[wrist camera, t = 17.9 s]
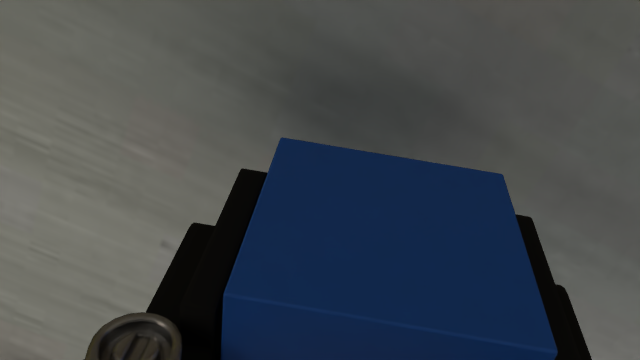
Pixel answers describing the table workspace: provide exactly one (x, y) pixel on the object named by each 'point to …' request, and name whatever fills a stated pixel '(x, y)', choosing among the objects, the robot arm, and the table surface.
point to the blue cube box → (381, 264)
